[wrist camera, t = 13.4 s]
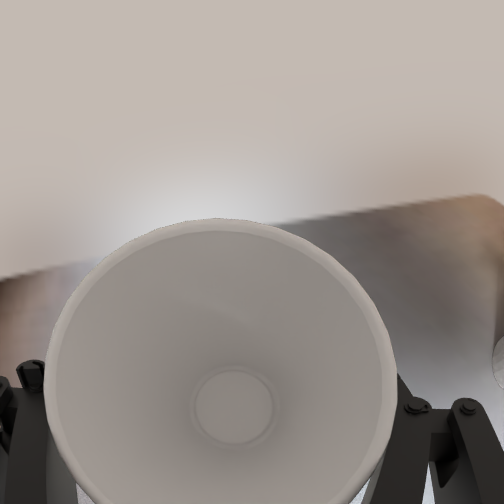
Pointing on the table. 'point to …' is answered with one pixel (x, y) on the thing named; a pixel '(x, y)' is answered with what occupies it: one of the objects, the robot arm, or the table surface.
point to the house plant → (499, 362)
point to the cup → (220, 372)
